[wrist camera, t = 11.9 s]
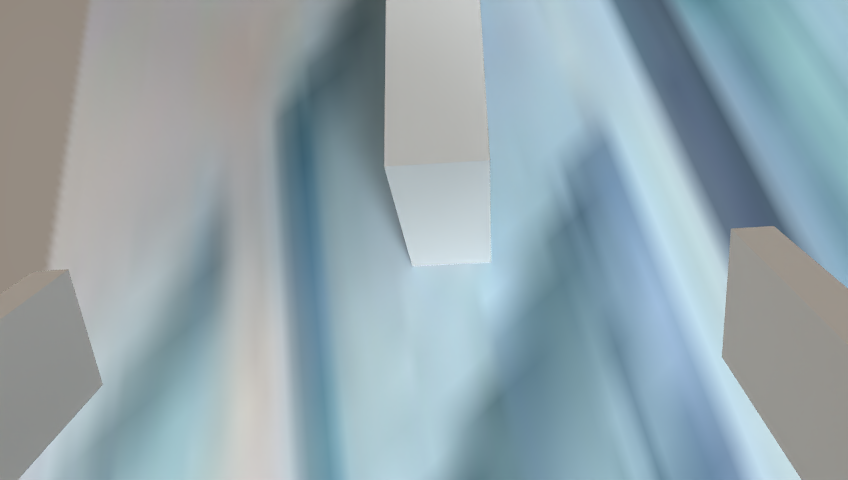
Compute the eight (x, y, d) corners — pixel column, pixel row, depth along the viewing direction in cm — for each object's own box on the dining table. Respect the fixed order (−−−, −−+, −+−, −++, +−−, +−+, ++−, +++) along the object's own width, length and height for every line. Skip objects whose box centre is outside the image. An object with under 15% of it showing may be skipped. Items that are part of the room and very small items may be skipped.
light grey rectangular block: (475, -7, 42) (469, -160, 33) (491, 263, 35) (490, 160, 26) (410, -2, 43) (387, -152, 34) (412, 267, 35) (384, 166, 26)
